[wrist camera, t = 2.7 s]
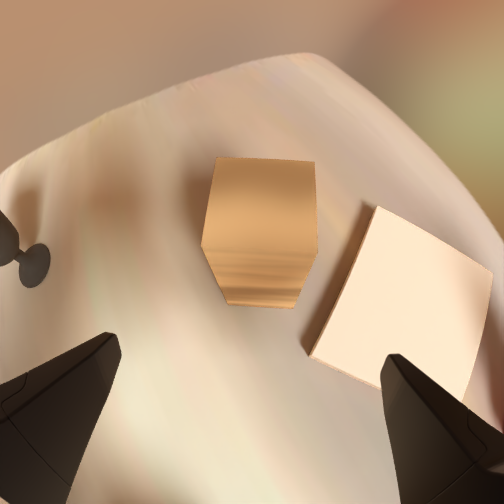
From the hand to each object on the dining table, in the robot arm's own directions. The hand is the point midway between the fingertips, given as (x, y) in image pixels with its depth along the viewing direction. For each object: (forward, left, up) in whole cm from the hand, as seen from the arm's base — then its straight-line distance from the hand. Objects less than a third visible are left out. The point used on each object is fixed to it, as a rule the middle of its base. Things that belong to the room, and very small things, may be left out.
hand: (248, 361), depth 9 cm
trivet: (+14, -3, -13) cm, 19 cm away
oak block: (+4, +6, -13) cm, 15 cm away
